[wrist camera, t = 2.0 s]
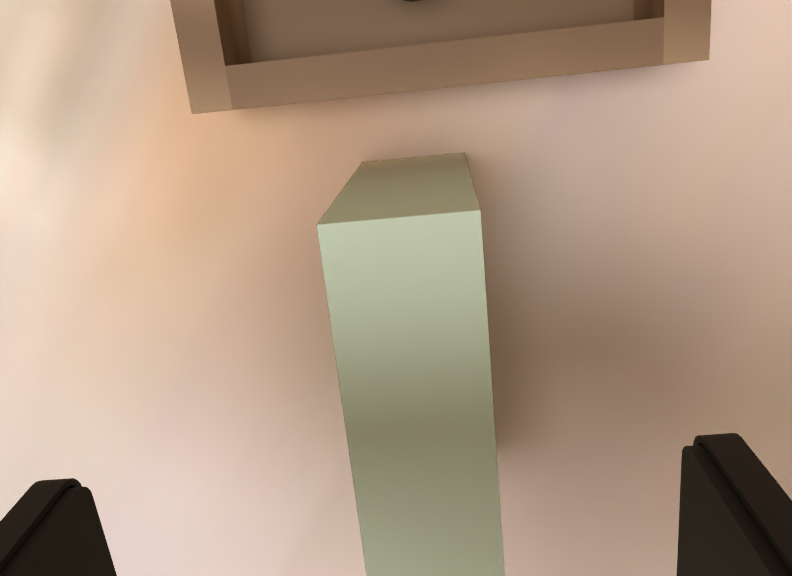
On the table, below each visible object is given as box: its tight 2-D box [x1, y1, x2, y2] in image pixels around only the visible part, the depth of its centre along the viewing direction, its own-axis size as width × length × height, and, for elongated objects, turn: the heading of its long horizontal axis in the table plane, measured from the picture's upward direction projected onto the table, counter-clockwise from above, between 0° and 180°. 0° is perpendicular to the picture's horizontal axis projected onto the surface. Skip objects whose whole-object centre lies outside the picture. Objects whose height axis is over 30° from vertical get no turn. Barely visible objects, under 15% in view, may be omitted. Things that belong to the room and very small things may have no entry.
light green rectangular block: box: [317, 153, 505, 576], centre depth 18 cm, size 10×3×8 cm, turn 6°
